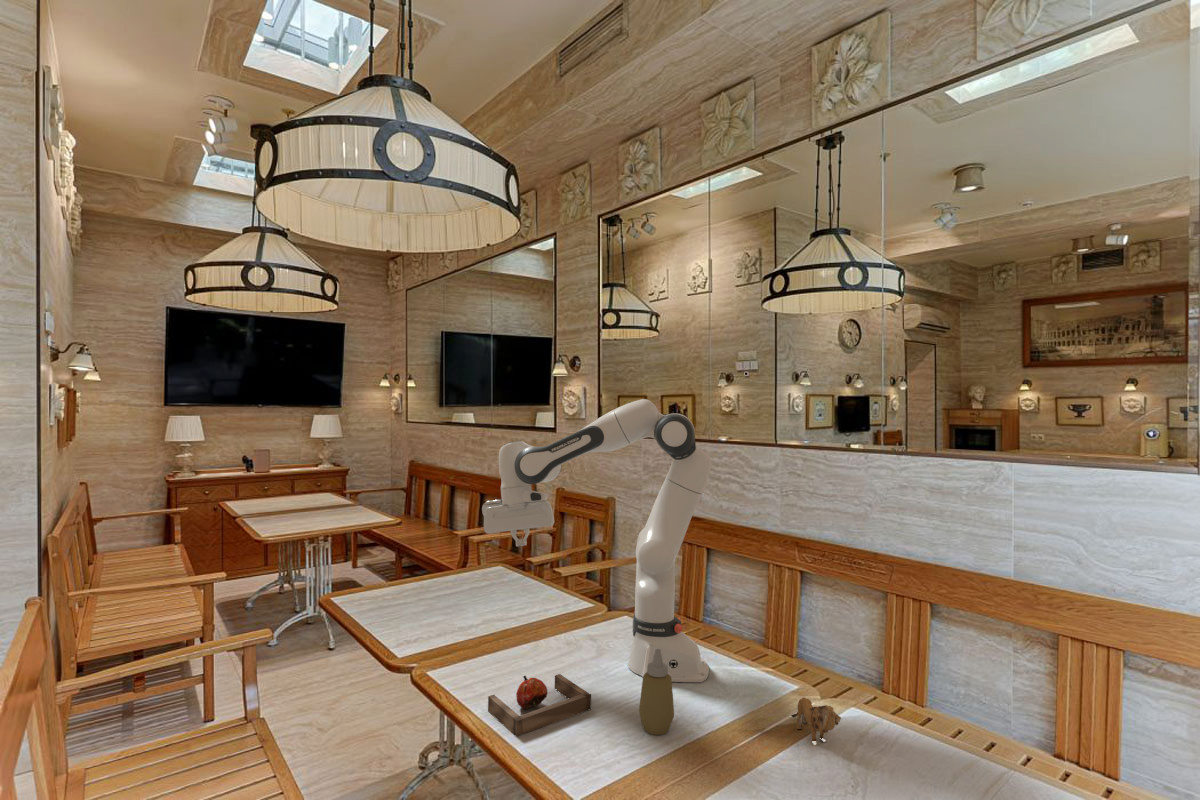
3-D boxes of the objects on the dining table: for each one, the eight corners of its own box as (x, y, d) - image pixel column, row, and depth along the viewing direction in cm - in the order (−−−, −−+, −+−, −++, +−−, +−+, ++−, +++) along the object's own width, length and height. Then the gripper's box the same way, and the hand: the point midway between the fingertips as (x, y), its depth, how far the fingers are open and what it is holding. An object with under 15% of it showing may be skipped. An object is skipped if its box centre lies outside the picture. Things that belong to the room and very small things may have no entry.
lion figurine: (843, 750, 130) (844, 709, 130) (823, 754, 128) (824, 712, 128) (800, 716, 144) (801, 679, 144) (781, 719, 142) (782, 682, 142)
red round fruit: (550, 718, 145) (540, 678, 152) (554, 703, 140) (543, 663, 148) (520, 726, 142) (511, 686, 149) (522, 712, 138) (513, 671, 145)
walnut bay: (487, 710, 143) (488, 696, 143) (559, 687, 156) (559, 673, 156) (516, 736, 132) (517, 720, 132) (590, 709, 145) (591, 694, 145)
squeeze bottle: (672, 740, 132) (674, 659, 132) (636, 735, 134) (637, 655, 134) (675, 721, 140) (677, 644, 140) (640, 717, 142) (642, 641, 142)
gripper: (479, 501, 172) (483, 551, 170) (550, 493, 172) (555, 542, 170) (483, 501, 178) (487, 549, 176) (552, 493, 178) (557, 540, 176)
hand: (521, 545), depth 173 cm, fingers closed
